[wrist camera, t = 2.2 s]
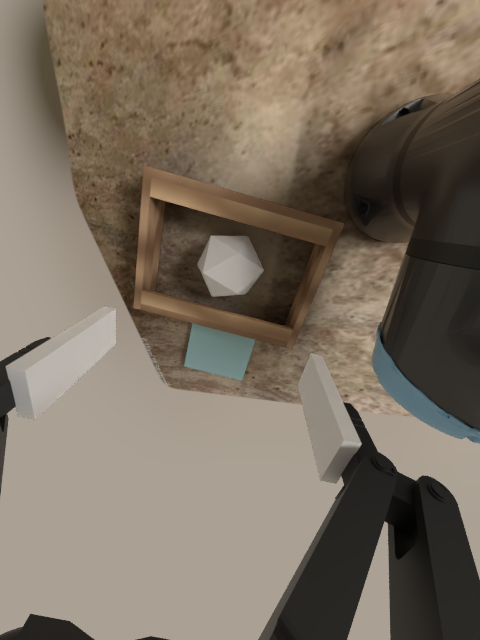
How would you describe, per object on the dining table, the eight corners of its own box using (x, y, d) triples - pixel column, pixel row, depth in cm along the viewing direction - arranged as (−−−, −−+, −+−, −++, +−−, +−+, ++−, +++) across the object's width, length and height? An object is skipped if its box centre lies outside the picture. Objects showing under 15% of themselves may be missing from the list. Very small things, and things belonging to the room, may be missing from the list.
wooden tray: (161, 172, 32) (143, 165, 27) (331, 221, 33) (344, 223, 28) (149, 295, 39) (133, 307, 34) (287, 332, 40) (292, 349, 35)
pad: (195, 310, 40) (194, 313, 39) (258, 327, 40) (258, 330, 39) (185, 363, 44) (184, 366, 43) (242, 377, 45) (241, 381, 44)
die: (193, 266, 37) (203, 316, 32) (195, 217, 30) (208, 270, 26) (243, 265, 40) (259, 311, 35) (255, 218, 33) (277, 268, 28)
